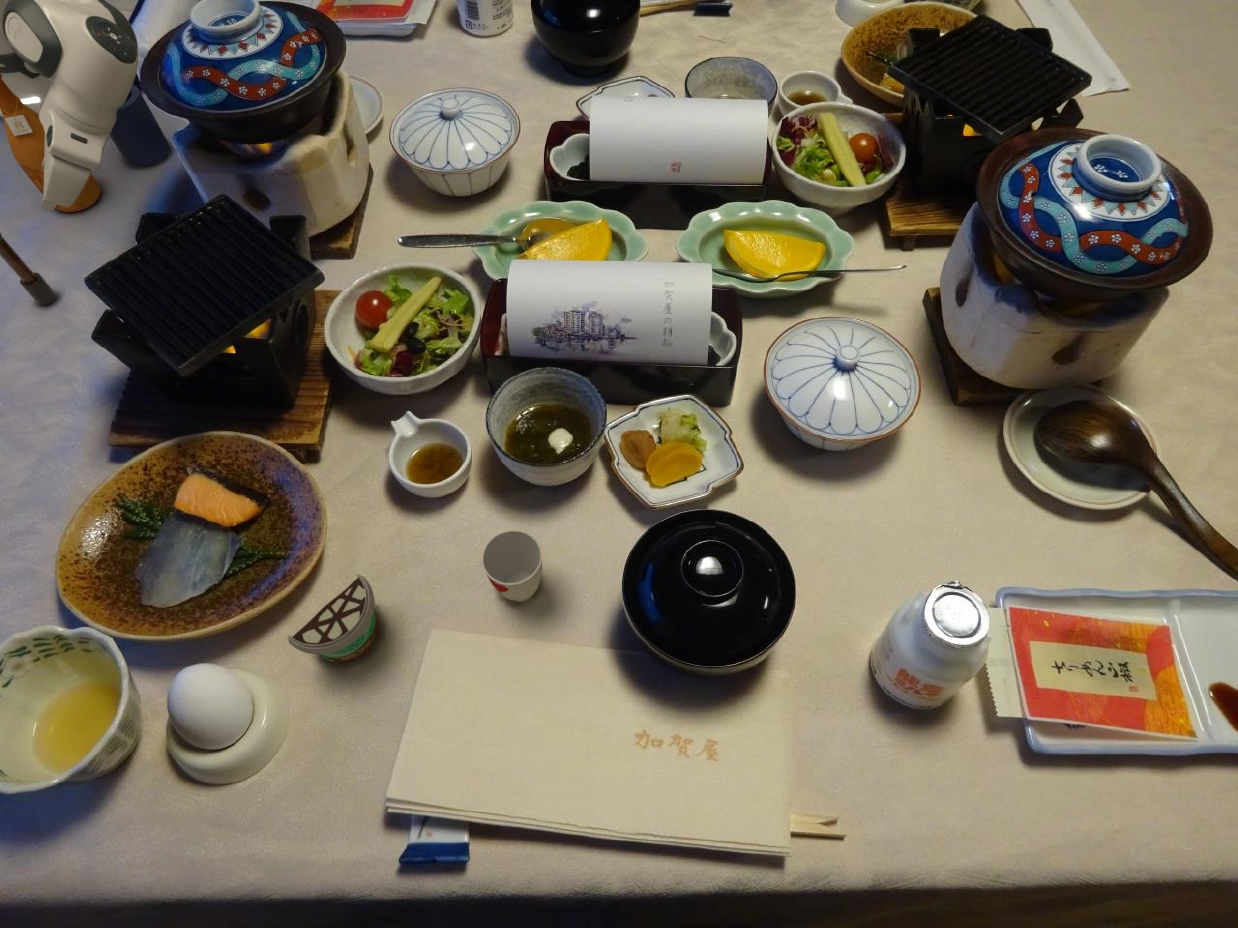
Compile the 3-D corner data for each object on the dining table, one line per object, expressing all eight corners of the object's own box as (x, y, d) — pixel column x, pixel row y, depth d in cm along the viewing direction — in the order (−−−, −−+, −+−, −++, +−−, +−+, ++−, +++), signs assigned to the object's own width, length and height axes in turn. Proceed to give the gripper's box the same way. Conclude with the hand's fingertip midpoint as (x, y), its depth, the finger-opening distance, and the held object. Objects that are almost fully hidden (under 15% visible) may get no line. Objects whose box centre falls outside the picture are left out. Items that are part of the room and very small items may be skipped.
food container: (338, 691, 107) (314, 669, 98) (309, 662, 109) (284, 638, 100) (407, 625, 112) (390, 598, 103) (378, 598, 114) (359, 570, 105)
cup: (482, 575, 116) (472, 546, 107) (532, 551, 118) (525, 520, 109) (506, 621, 112) (497, 595, 104) (556, 595, 114) (552, 567, 106)
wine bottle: (40, 209, 156) (-72, 65, 131) (72, 178, 161) (-30, 33, 135) (83, 220, 155) (-22, 76, 129) (114, 188, 160) (18, 43, 134)
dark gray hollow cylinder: (115, 157, 164) (79, 101, 153) (150, 134, 169) (117, 77, 158) (145, 173, 162) (111, 116, 151) (180, 149, 166) (149, 92, 155)
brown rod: (33, 301, 143) (-29, 232, 130) (49, 289, 145) (-11, 220, 131) (45, 308, 143) (-16, 239, 129) (61, 296, 144) (2, 227, 130)
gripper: (52, 73, 124) (25, 140, 131) (51, 151, 114) (21, 220, 121) (98, 93, 129) (69, 157, 135) (101, 170, 119) (70, 236, 125)
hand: (47, 188), depth 128 cm, fingers open, 8 cm apart
